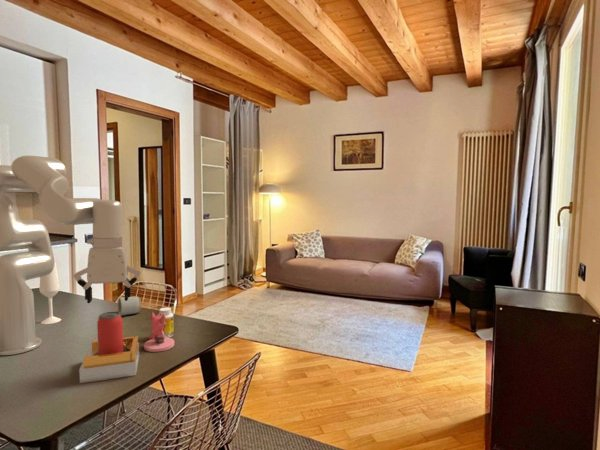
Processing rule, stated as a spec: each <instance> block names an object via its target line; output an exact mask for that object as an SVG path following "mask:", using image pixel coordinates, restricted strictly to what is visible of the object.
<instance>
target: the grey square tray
mask: <svg viewBox="0 0 600 450" xmlns="http://www.w3.org/2000/svg"><path fill="white" fill-rule="evenodd" d="M139 358H140V342H139V335H136V336H126V337H123V352H120V353H112V354H104V355H99V354H98V340H92V341H91V347H90V348H89V349H88V351H87V352H86V355H85V356H84V357H83V360H82V363H81V365H80V367H79V369H78V370H79V372H78V373H79V384H87V383H92V382H93V383H94V382H98V381H99V382H100V381H107V380H113V379H120V378H127V377H133V376H137V372H138V365H139Z"/></svg>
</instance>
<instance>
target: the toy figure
mask: <svg viewBox="0 0 600 450" xmlns="http://www.w3.org/2000/svg"><path fill="white" fill-rule="evenodd" d="M158 314H159V313H158ZM161 315H162V314H159V316H157V315H156V314H155V313H154V311H153V310H152V311H151V314H150V321H151V326H152V327H151V333H152V335H149V336H148V338H149V340H147V341H146V342H144V344H143V349H144V350H145V351H146V352H150V353H151V352H152V353H157V352H158V353H159V352H164V351H168V350H171V349H172V348H173V347H174V346H175V340H174V339H173V338H172V337H170V338H168V337H166V336H164V332H163V331H164V328H165V323H166V322H165V318H166V317H165V315H164V313H163V315H162V316H161ZM162 328H163V331H162Z"/></svg>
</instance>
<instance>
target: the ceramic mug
mask: <svg viewBox="0 0 600 450" xmlns="http://www.w3.org/2000/svg"><path fill="white" fill-rule="evenodd" d="M141 301H142V300H141V297H140V296H130V297H128V300H127V301H125V296H121V297H119V298H118V301H117V305H118V306H117V308H118V311H117V312H119V313H120V316H121V317H123V316H127V315H128V316H129V315H136V314H139V313H140V312H141V310H142V302H141Z"/></svg>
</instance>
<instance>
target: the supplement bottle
mask: <svg viewBox="0 0 600 450" xmlns="http://www.w3.org/2000/svg"><path fill="white" fill-rule="evenodd" d="M163 313H164V315H165V317H166V318H165V322H166V323H165V328H164V331H163V328H162V331H163V332H164V336H166V337H168V338H172V337H173V336H174V332H175V331H174V330H175V328H174V326H175V325H174V313H173V312H172V308H171V307H161V308H160V309H159V313H158V314H157V315H156V316H159V314H162V315H163ZM162 315H161V316H162Z"/></svg>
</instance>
